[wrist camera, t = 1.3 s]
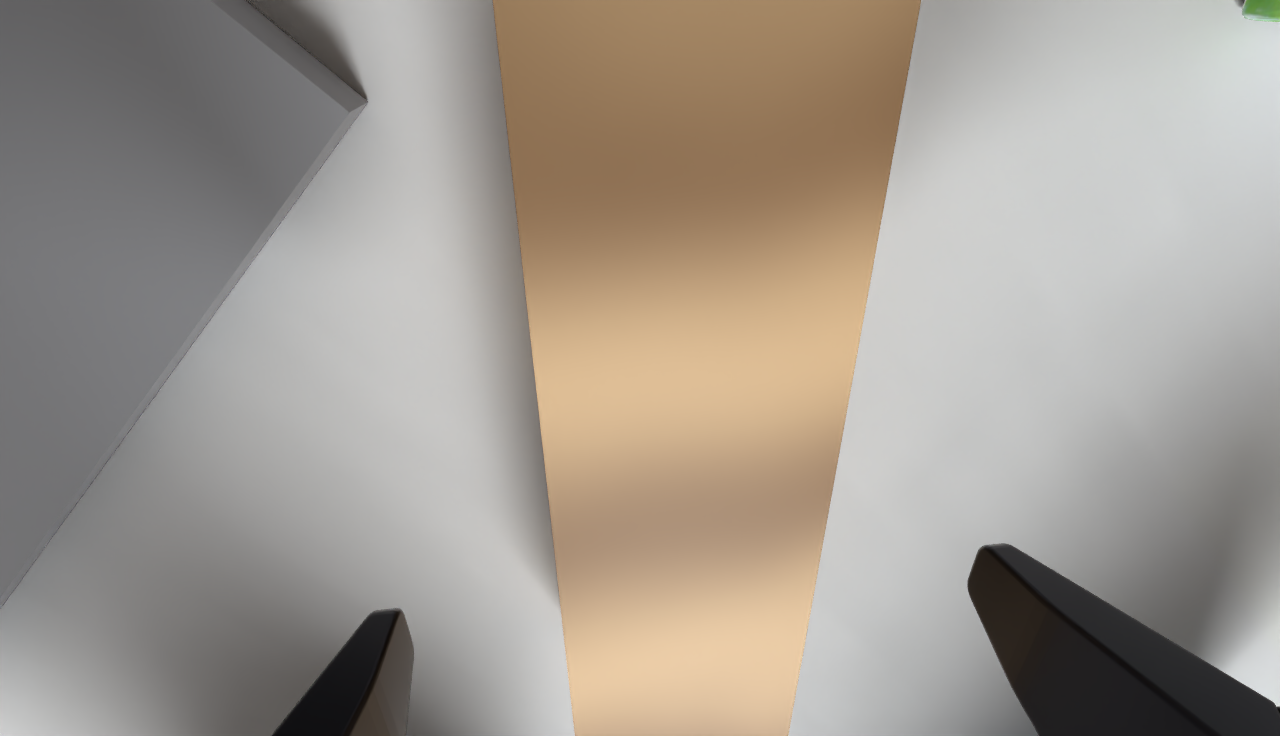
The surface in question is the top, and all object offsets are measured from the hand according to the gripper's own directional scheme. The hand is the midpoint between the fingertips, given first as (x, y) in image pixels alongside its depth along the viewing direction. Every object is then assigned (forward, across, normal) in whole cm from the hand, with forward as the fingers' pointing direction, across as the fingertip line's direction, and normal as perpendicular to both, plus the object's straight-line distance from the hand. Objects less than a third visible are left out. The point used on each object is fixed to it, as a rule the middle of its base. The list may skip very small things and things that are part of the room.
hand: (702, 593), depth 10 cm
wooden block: (+6, 0, 0) cm, 6 cm away
